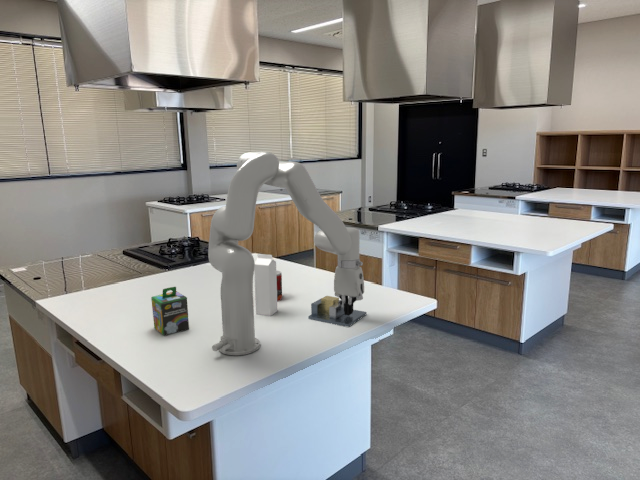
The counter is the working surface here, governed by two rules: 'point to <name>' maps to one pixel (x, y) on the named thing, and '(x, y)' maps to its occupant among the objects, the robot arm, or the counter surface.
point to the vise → (342, 320)
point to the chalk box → (170, 312)
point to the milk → (265, 285)
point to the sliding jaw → (336, 310)
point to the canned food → (279, 285)
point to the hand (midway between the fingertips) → (348, 313)
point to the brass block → (327, 303)
